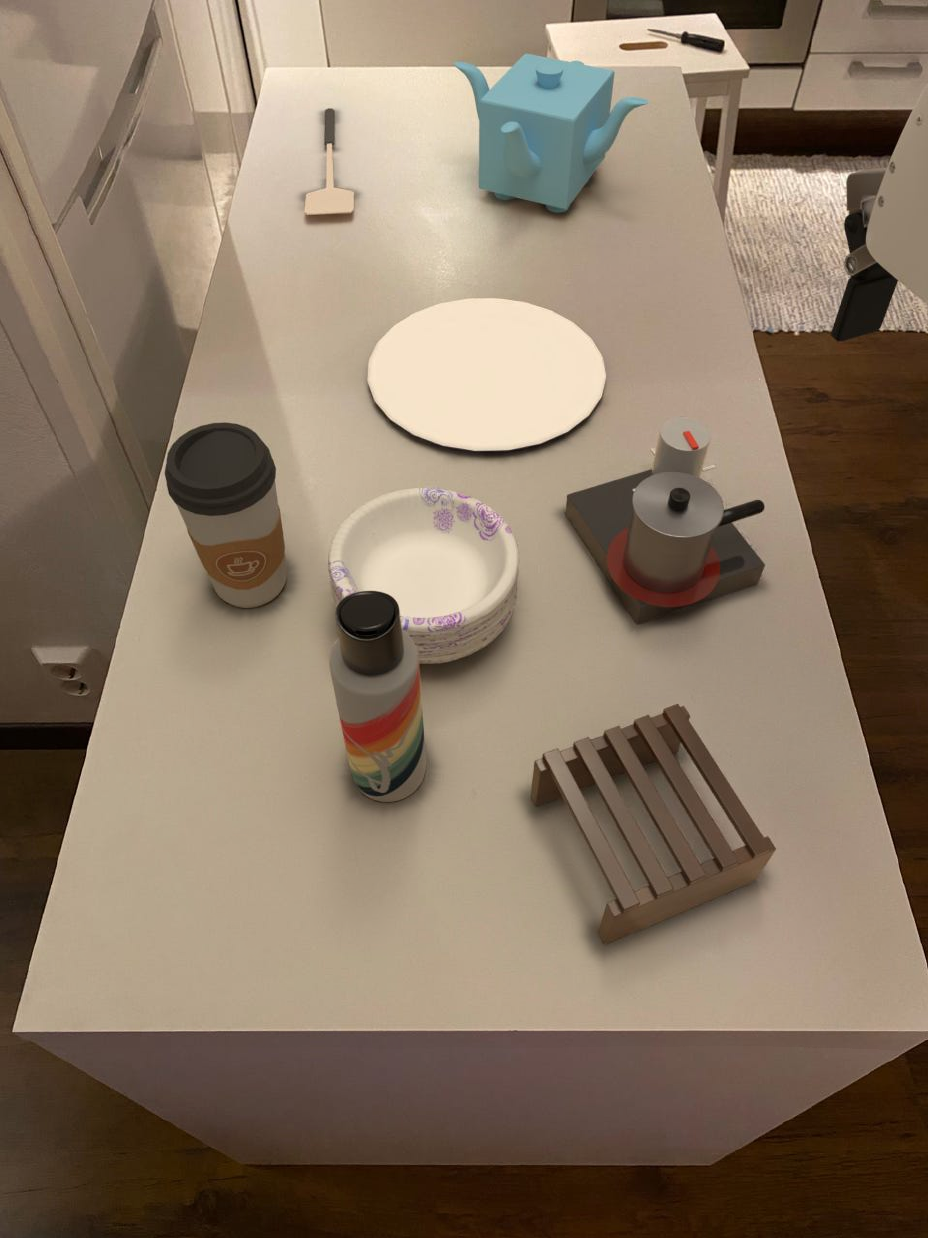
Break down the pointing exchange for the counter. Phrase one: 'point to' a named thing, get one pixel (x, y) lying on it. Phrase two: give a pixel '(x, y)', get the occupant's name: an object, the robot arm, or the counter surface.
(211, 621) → the counter surface
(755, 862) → the drying rack
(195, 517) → the coffee cup
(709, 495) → the saucepan
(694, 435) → the hob knob
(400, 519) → the paper bowls
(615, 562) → the burner ring
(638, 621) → the hob
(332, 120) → the spatula
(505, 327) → the plate
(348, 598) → the lotion bottle
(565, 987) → the counter surface
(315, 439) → the counter surface
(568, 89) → the teakettle
